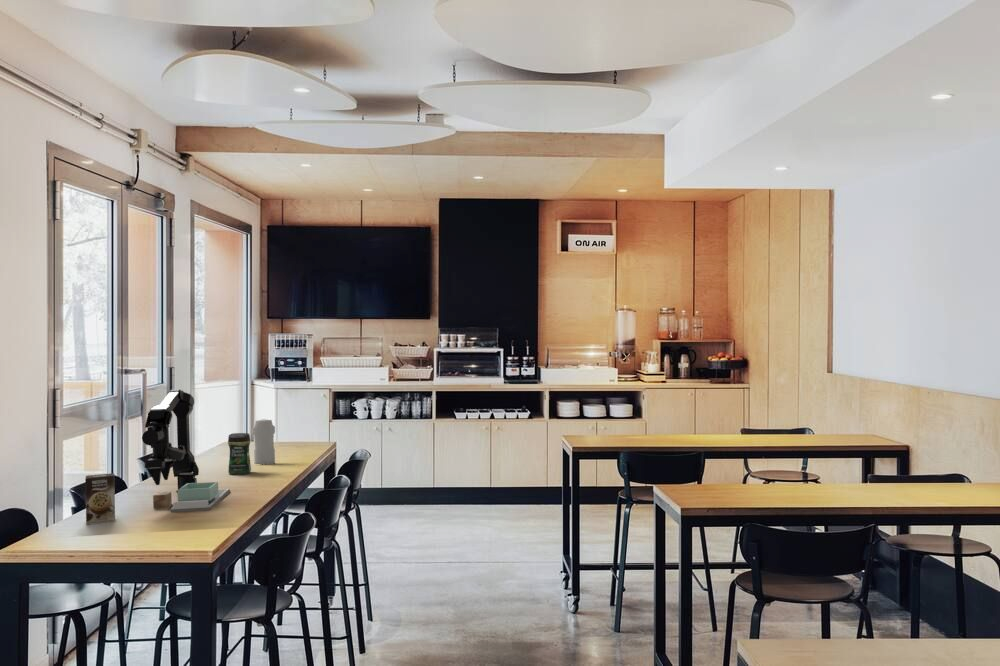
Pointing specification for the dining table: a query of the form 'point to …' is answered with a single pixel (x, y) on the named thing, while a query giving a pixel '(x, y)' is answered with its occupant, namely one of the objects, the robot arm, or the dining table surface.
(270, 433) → the tall pale column
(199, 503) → the rail board
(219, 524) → the dining table surface
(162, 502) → the block
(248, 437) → the coffee jar
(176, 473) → the robot arm
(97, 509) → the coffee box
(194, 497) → the sage green storage bin
